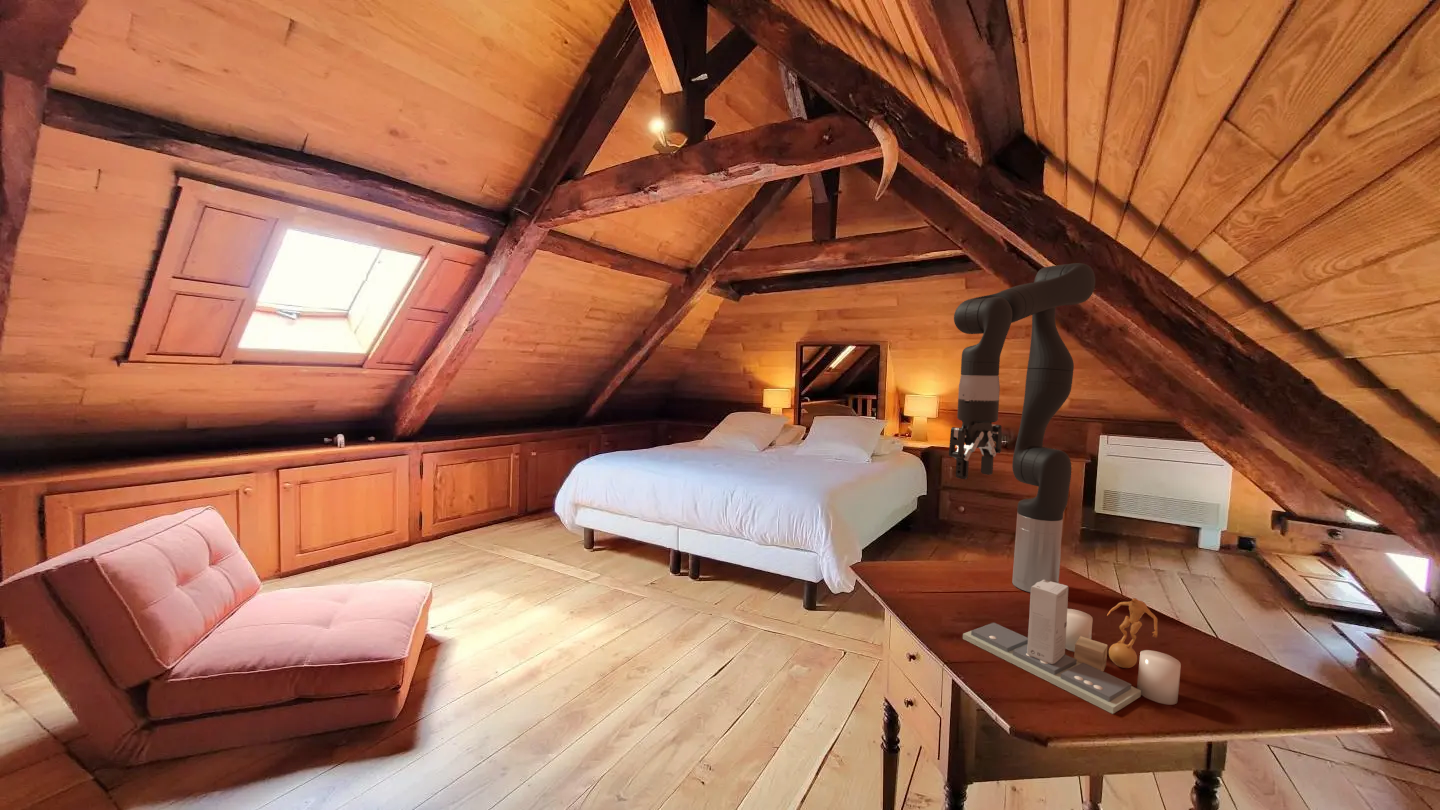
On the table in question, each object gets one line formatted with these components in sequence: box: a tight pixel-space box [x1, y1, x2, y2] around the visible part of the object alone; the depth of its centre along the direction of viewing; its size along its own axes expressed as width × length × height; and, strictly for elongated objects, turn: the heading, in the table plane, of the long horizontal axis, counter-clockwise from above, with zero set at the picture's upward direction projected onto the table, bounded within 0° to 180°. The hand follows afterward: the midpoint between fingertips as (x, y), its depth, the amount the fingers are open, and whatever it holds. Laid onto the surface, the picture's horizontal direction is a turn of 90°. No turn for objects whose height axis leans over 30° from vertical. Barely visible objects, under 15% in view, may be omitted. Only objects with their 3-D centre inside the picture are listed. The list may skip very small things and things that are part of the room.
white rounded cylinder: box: [1065, 608, 1093, 652], centre depth 100 cm, size 5×5×6 cm
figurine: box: [1106, 597, 1159, 669], centre depth 94 cm, size 8×6×12 cm
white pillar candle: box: [1136, 649, 1182, 706], centre depth 86 cm, size 5×5×6 cm
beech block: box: [1073, 636, 1109, 672], centre depth 94 cm, size 4×4×4 cm
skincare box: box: [1027, 580, 1069, 664], centre depth 93 cm, size 6×4×12 cm
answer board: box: [962, 622, 1142, 715], centre depth 93 cm, size 9×25×2 cm, turn 31°
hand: (974, 476), depth 111 cm, fingers open, 8 cm apart
